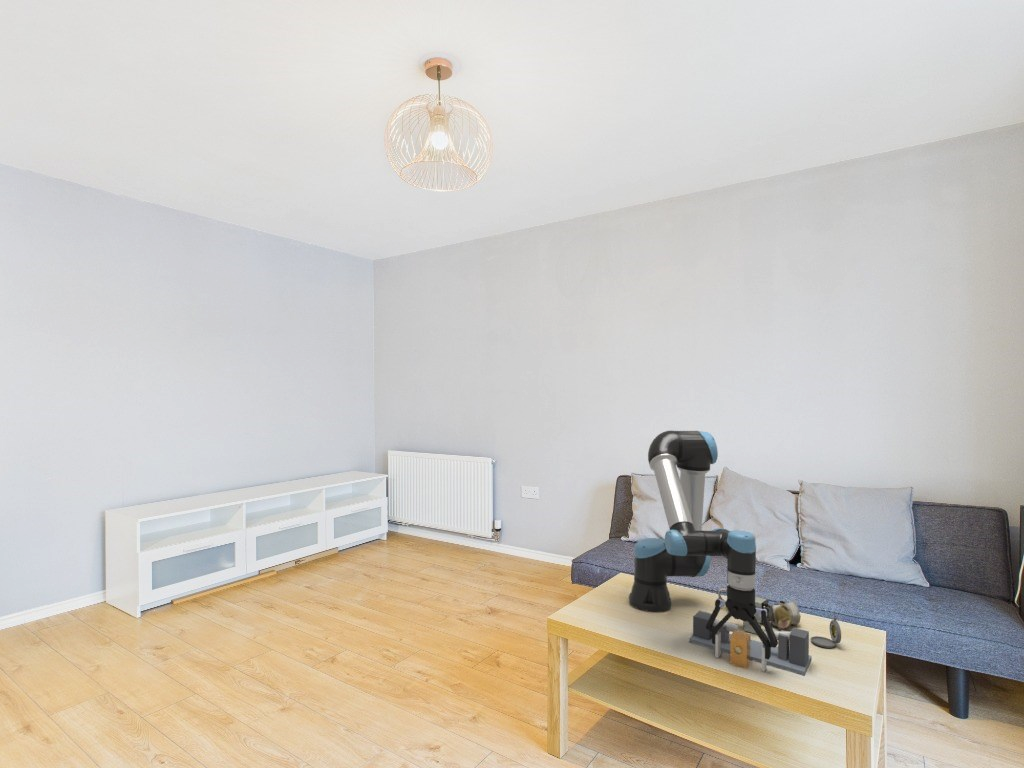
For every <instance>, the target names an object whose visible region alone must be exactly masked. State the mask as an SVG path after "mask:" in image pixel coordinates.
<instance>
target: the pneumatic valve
mask: <svg viewBox="0 0 1024 768" xmlns="http://www.w3.org/2000/svg"><path fill="white" fill-rule="evenodd" d="M769 601H770V600H769V599H767V598H763V597H759V596H756V595H755V605H756V607H757V608H759V609H764V608H766V609H767V611H768V619H769V620H771V618H772V616H773V607H772V605H771V604H770V602H769ZM754 616H755V618H756V619H757V622H758V623H759V625H760V627H761V628H762V625H761V624H763V622H762V619H761V617H760V616H759V614H758V613H755V614H754ZM760 623H761V624H760ZM742 628H743V630H744V631H745V632H747V633H749V634H754V635H757V634H756V632H755V630H754V629H753V627H752V626H751V625H750V624H749V622H748V621H742Z"/></svg>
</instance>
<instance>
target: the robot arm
mask: <svg viewBox="0 0 1024 768" xmlns="http://www.w3.org/2000/svg"><path fill="white" fill-rule="evenodd" d="M718 452H719V451H718V446H717V442H716V440H715V438H714V436H713V435H712V434H711V432H708V431H702V430H701V431H700V430H666V431H663V432H661V433H659V434H658V435H656V436H655V438H653V440H652V441H651V443H650V445H649V448H648V452H647V460H648V464H649V468H650V470H652V471H653V472H654V476H655V479H656V483H657V487H658V490H659V495H660V499H661V502H662V506H663V510H664V515H665V517H666V518H665V519H666V521H667V524H668V530H667V531H665V535H664V539H663V538H661V537H659V538H657V537H651V538H650V537H649V538H642V539H640V540H638V541H636V543H635V545H634V554H633V557H634V559H633V560H634V563H633V564H634V569H633V570H634V571H633V576H634V577H633V584H632V587H631V592H630V593H629V595H628V603H629V604H630V606H631V607H633V608H635V609H637V610H641V611H644V612H648V613H649V612H652V613H661V612H667V611H669V610H671V609H672V599H671V595H670V592H669V588H668V585H667V583H668V582H667V579H668V577H679V578H680V577H684V578H689V577H690V578H696V577H704V576H705V575H706V574H707V573H708V572H709V570H710V567H711V562H712V560H711V559H712V557H724V558H725V559H726V560H727V561H726V562H727V565H726V566H727V567H726V568H727V569H726V570H727V571H726V573H727V577H726V581H727V584H729V585H728V586H727V585H726V589H727V591H726V601H725V599H723V598H722V597H721V598H722V599H723V600H722V599H721V598H719V597H718V598H716V600H715V601H714V608H713V611H712V612H711V616H710V618H709V621H708V623H707V625H706V629H707V630H710V631H711V632H712V643H713V644H715V649H714V651H715V653H714V657H715V658H717V659H718V658H719V657H720V656H721V652H722V651H721V632H718V630H719V629H720V628H721V627H722V626H723V625H724V624H725V623H726V622H729V620H730V618H733V619H735V620H741V621H742V622H743V621H748V622H749V624H750V625H751V626H752V627H753V629H754V630H755V632H756V634H755V635H757V636H758V638H759V640H760V642H762V643H763V646H762V663H761V672H765V671H766V669H768V666H767V659H769V658H770V656H771V647H774V648H775V647H776V646H777V647H778V640H777V639H776V636H775V634H774V629H773V627H772V623H771V621H769V619H768V611H767V609H766V608H764V609H759V608H757V607H756V605H755V596H756V589H755V588H756V564H757V563H756V561H757V560H756V558H757V557H756V556H757V545H756V536H755V535H754V534H753V533H752V532H749V531H745V530H738V529H737V530H729V529H728V528H727V529H726V528H723V527H717V528H713V530H703V517H704V516H703V515H704V514H703V513H704V501H705V499H704V497H705V484H706V474H707V473H708V472H710V471H711V465H714V464H716V462H717V460H718V455H719V454H718ZM678 470H679V472H680V476H679V472H678ZM723 607H726V610H727V609H728V610H727V611H729V612H727V614H725V616H724V617H723V618H722V619H721V621H720V622H719V623H718V624H717V625H716V626H715V627H714V626H713V623H714V621H715V619H717V616H718V615H719V612H720V610H721V609H723ZM755 613H758V614H759V616H760V617H761V619H762V622H763V623H762V622H761V623H762V624H763V628H764V629H765V630H763V628H762V626H761V627H760V625H761V624H760V625H759V623H758V622H757V619H756V618H755V616H754V614H755ZM764 631H766V632H767V635H768V637H769V639H768V637H767V636H766V634H765V633H764Z"/></svg>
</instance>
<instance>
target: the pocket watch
mask: <svg viewBox="0 0 1024 768" xmlns="http://www.w3.org/2000/svg"><path fill="white" fill-rule="evenodd" d="M835 614H836V615H835ZM838 617H839V615H838V613H837V612H834V613H833V619H831V620H830V623H829V634H830V638H831V639H830V638H827V637H823V636H815V635H814V636H812V637H811V638H810V641H811V643H812V644H814V645H815V646H818V647H821V648H826V649H827V648H828V649H832V648H835V647H836V645H837V644H840V643H841V640H842V629H841V626H840V624H839V622H838V621H837V619H838Z"/></svg>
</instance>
